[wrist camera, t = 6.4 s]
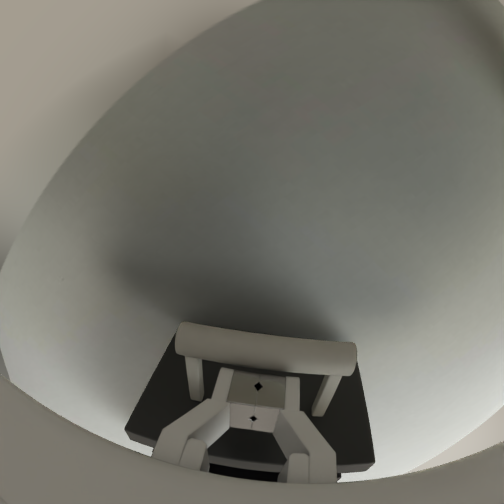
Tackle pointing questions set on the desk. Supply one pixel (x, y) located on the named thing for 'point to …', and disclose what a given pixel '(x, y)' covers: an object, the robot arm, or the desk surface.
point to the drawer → (259, 361)
